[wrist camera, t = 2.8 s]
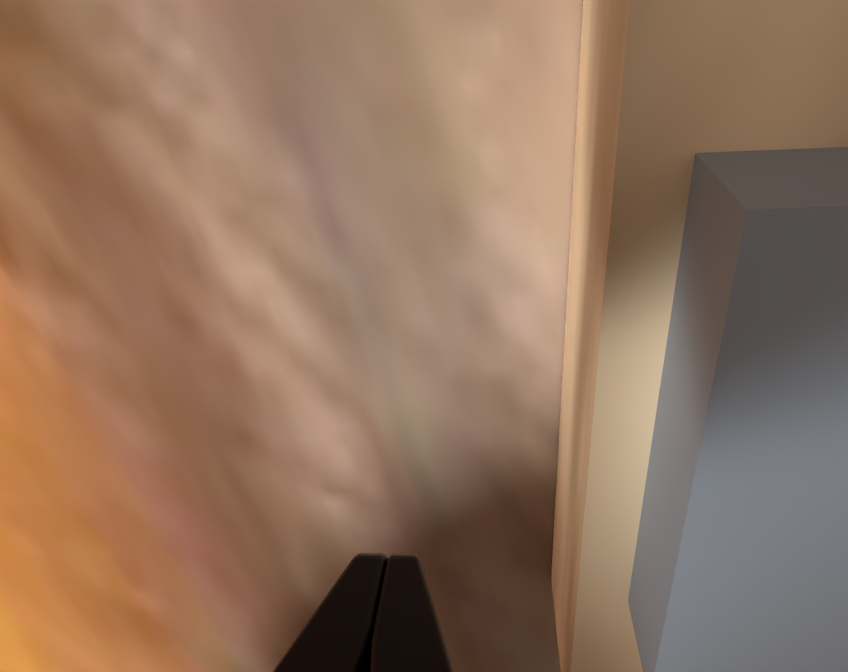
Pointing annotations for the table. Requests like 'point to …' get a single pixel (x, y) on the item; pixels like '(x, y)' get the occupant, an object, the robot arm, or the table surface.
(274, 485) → the table surface
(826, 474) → the grey bevelled block
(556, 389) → the table surface
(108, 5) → the table surface
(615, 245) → the wooden block
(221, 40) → the table surface
